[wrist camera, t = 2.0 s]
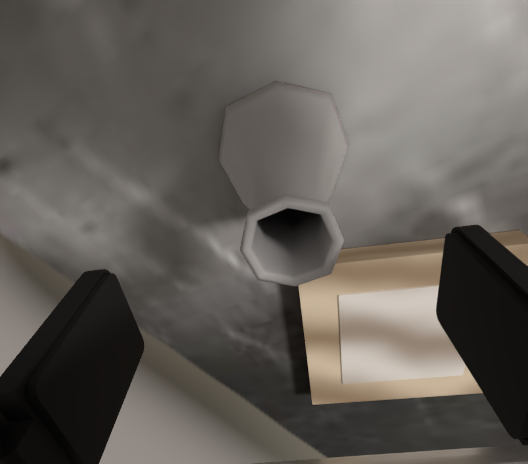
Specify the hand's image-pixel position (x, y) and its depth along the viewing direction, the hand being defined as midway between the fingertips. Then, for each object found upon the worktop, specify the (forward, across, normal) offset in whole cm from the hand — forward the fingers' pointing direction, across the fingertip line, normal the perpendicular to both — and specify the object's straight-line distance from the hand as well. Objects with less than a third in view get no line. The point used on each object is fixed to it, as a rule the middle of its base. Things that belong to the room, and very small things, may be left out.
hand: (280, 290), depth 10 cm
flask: (+11, -1, -1) cm, 11 cm away
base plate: (+11, -8, +13) cm, 19 cm away
